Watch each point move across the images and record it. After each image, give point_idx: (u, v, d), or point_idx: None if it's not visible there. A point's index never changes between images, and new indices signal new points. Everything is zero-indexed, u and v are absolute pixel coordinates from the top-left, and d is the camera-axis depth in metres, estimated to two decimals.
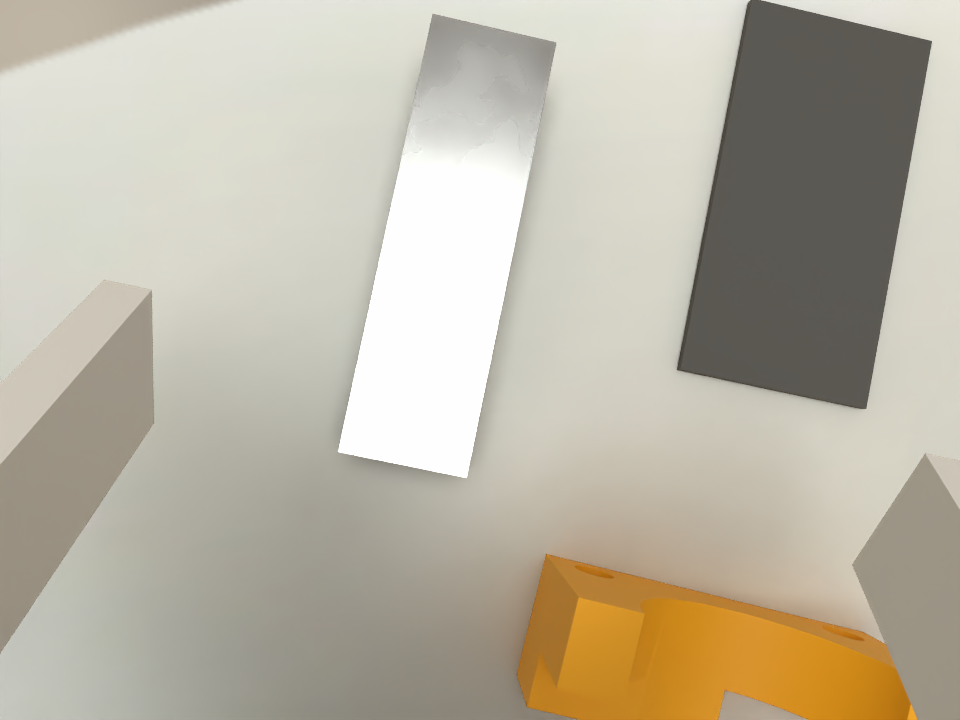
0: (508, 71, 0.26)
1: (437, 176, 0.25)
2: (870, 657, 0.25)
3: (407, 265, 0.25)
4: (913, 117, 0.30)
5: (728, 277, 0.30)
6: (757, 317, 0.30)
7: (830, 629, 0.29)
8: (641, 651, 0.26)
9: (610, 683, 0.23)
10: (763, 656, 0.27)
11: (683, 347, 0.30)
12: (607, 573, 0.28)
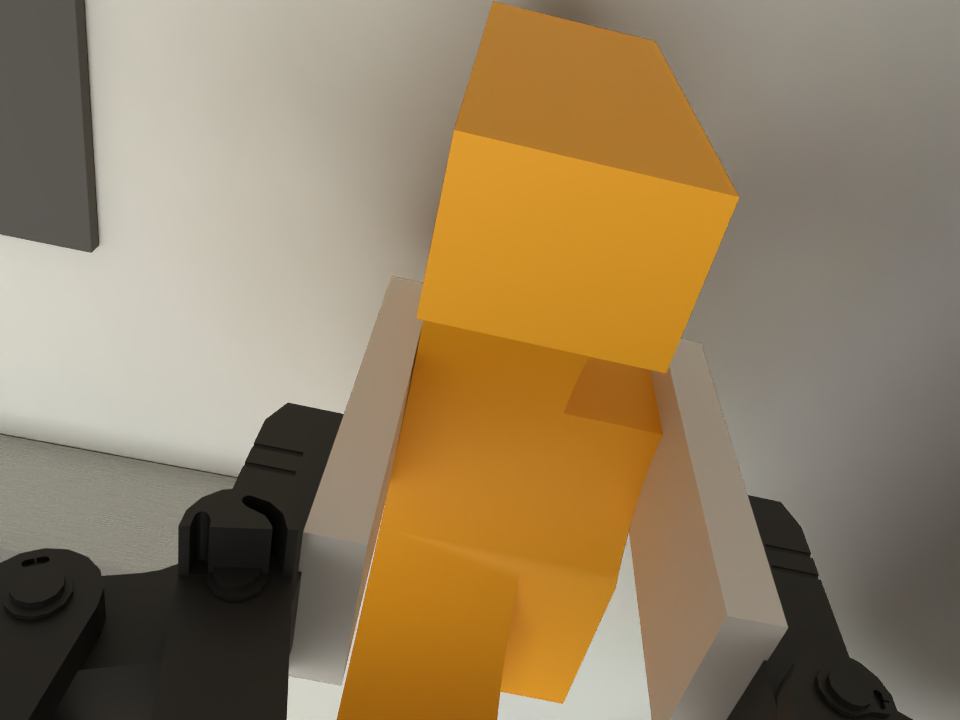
0: None
1: None
2: None
3: None
4: None
5: None
6: None
7: None
8: (463, 599, 0.14)
9: None
10: (492, 357, 0.13)
11: None
12: None
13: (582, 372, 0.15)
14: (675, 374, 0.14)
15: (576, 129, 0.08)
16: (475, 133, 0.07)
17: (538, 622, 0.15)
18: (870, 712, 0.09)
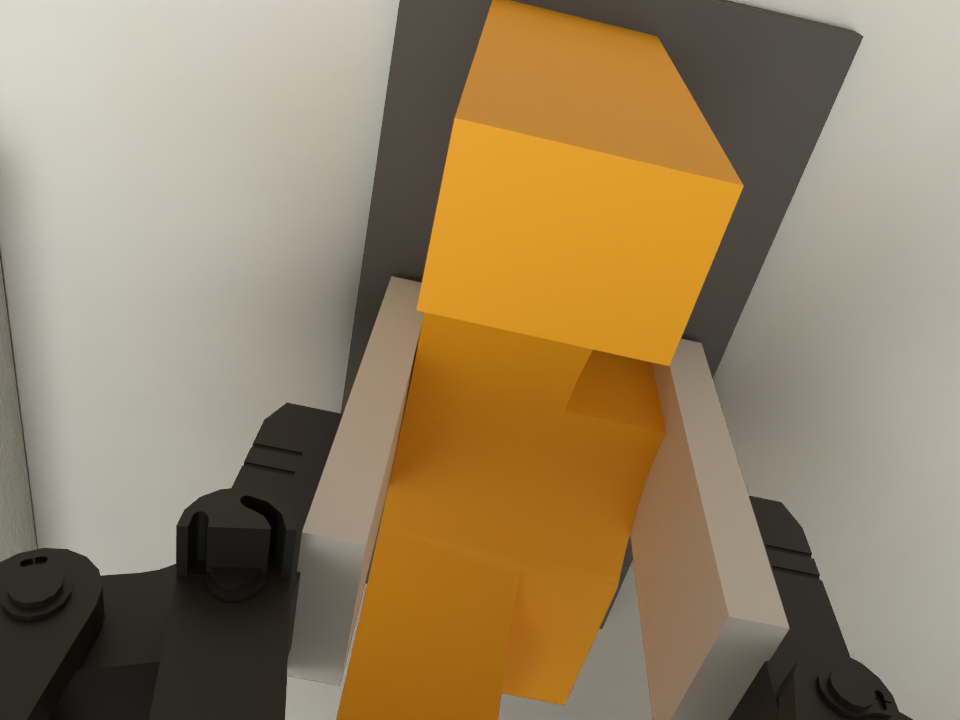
0: None
1: None
2: None
3: None
4: (774, 213, 0.14)
5: None
6: None
7: None
8: (464, 598, 0.14)
9: None
10: (493, 354, 0.13)
11: None
12: None
13: (583, 370, 0.15)
14: (677, 375, 0.14)
15: (579, 120, 0.08)
16: (476, 122, 0.07)
17: (539, 622, 0.15)
18: (872, 712, 0.09)
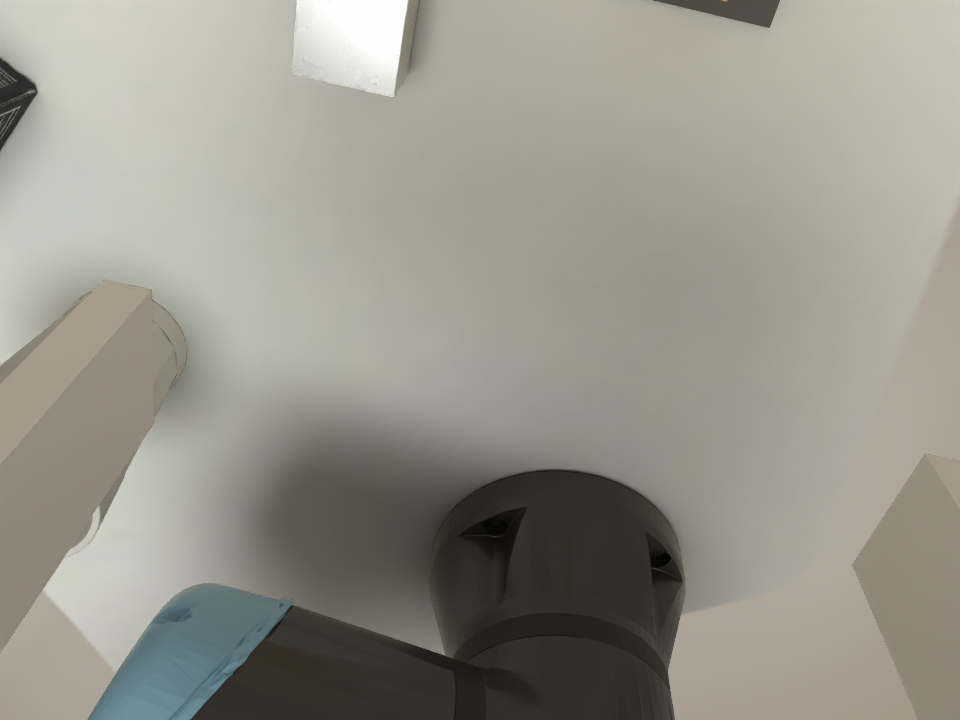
0: None
1: None
2: None
3: None
4: None
5: None
6: None
7: None
8: None
9: None
10: None
11: None
12: None
13: None
14: None
15: None
16: None
17: None
18: None
